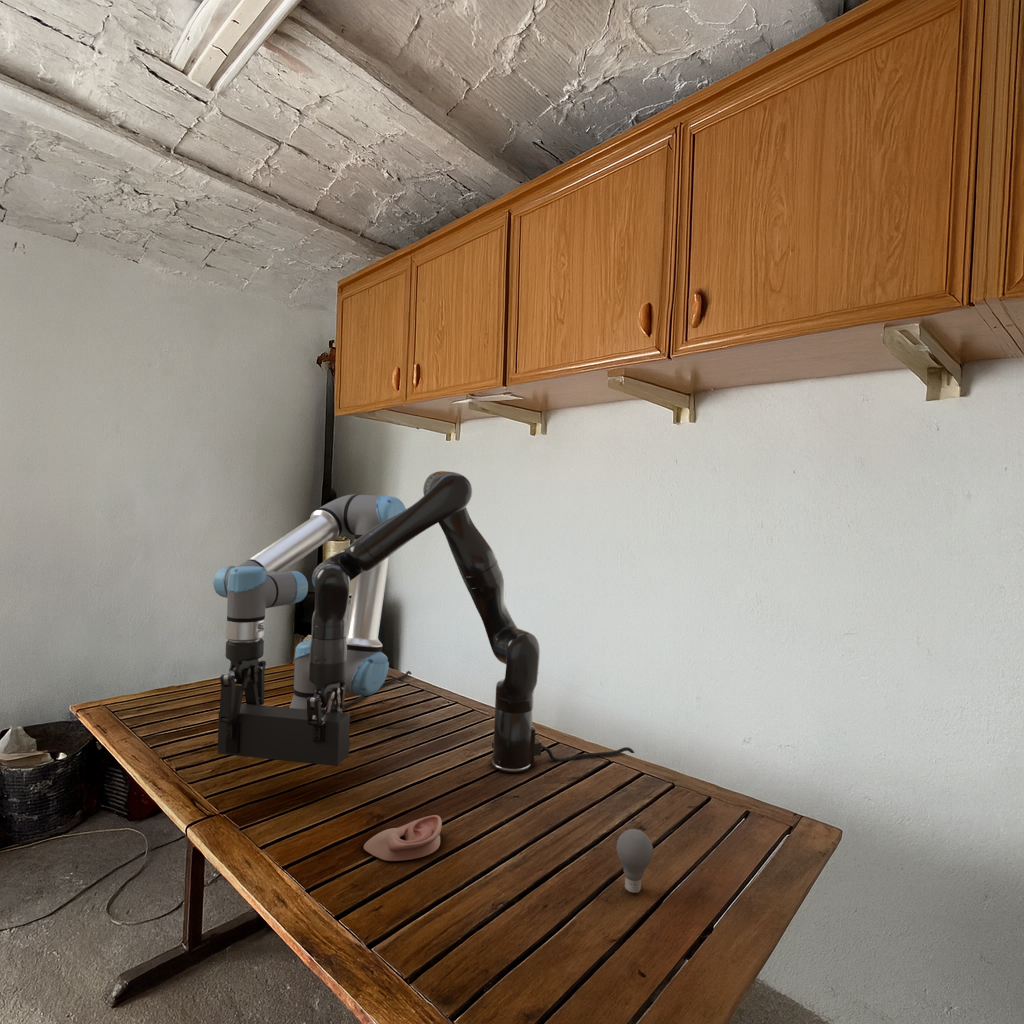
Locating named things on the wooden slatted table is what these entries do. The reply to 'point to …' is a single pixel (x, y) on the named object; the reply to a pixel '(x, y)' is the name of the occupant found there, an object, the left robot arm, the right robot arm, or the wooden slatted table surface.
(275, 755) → the bar
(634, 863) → the light bulb
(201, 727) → the wooden slatted table surface
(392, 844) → the anatomical model
